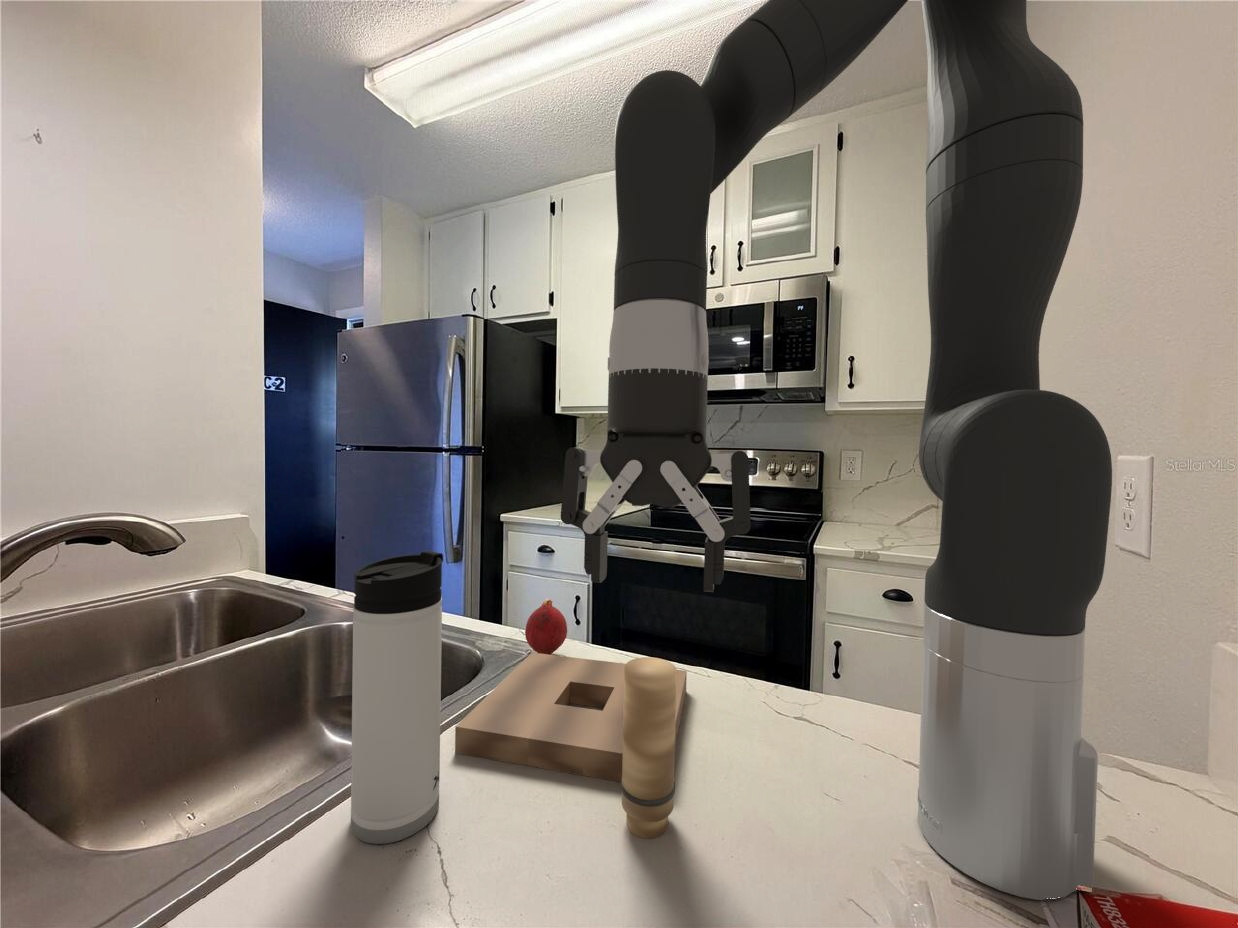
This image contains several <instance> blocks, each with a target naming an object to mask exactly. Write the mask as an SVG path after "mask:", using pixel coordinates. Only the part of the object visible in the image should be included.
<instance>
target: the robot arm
mask: <svg viewBox="0 0 1238 928" xmlns="http://www.w3.org/2000/svg"><path fill="white" fill-rule="evenodd" d="M908 1H909V0H768V1H766V2H765V3H764V4H763V5H762V6H760V7H759V8H758V9H756V11H754V12H753V13H752V14H751V15H749V16H748V17H747V18H746V19H744V20H743V21H742V22H741V23H740V24H739V25H738V26H737V27H735V28H734V29H732V30H731V32H729V33H728V35H727V36H725V37H724V39H722V41H721V42H720V43H719V45H718V46H717V48H716V49H715V50H714V52H713V53H712V56H711V58H710V60H709V63H708V66H707V68H706V72H705V73H704V77H703V79H702V81H701V83H700V84H699V83H698V82H697V81H696V80H694V79H693V78H692V77H691V76H689V75H687V74H685V73H683V72H680V71H676V70H672V69H671V70H669V69H664V70H658V71H655V72H652V73H650V74H648V75H646V76H644V77H643V78H641V79H640V80H639V81H638V82H636V84H635V85H634V86H632V88H631V89H629V91H628V92H627V94H626V96H625V97H624V99H623V101H622V103H621V105H620V108H619V110H618V113H617V117H616V123H615V129H614V164H615V165H614V169H615V176H614V177H615V193H616V194H615V195H616V197H615V198H616V216H617V217H616V219H617V243H616V244H617V245H616V256H615V263H614V280H613V284H614V288H613V315H612V317H613V318H612V324H611V329H610V337H609V347H608V348H609V349H608V350H609V351H608V356H607V371H608V383H607V384H608V387H607V388H608V389H607V392H608V393H607V421H606V422H607V430H606V442H605V446H604V447H603V449H602V450H590V449H586V448H584V447H576V446H575V447H569V448H568V449H567V450H566V452H565V457H564V458H565V459H564V470H563V471H564V472H563V483H562V494H561V506H560V507H561V508H560V520H561V522H562V523H563V524H565V525H571V526H574V527H576V528H578V529H580V530H581V531H582V532H583V535H584V550H583V551H584V557H583V558H584V560H583V568H584V572H585V574H586V575H590V581H591V583H600V584H601V583H603V582H604V580H606V579H607V578H606V577H607V574H608V572H607V571H608V544H609V543H608V542H609V541H608V535H609V532H608V531H605V528H606V527H605V526H606V525H607V524H608V522H609V521H610V520H611V519H612V517H613V516H614V515H615V514H616V512H617V511H618V510H619V509H620V508H621V507H622V506H623V505H624V504H625V502H627V503H628V504H631V507H632V506H634V507H636V506H637V507H645V506H649V505H655V506H657V507H662V508H671V509H673V508H675V507H677V506H679V505H681V504H683V506H685V508H686V509H687V511H688V512H689V513H690V515H691V516H692V517H693V518H694V520H695V521H696V522H697V523H698V525H699V526H700V527H701V529H702V530H703V532H704V533H705V534H706V535H707V537H705V541H704V555H703V556H704V564H703V565H704V566H703V592H707V593H714V590H715V585H721V584H722V582H723V580H724V573H725V544H726V541H728V539H730V538H733V537H735V536H736V537H737V536H738V535H746V534H748V533H749V532H750V531H751V526H752V524H751V523H752V522H751V494H750V467H749V465H750V464H749V462H750V461H749V455H748V454H747V453H746V452H745V451H742V450H736V451H734V452H733V453H732V452H731V453H727V452H726V453H711V452H710V450H709V448H708V445H707V422H708V421H707V417H708V413H707V412H708V385H709V384H708V381H709V379H708V377H709V376H708V374H709V364H710V363H709V362H710V361H709V348H710V347H709V332H708V325H707V291H708V284H707V283H708V259H707V258H708V255H707V254H708V253H707V229H708V228H707V227H708V221H709V220H708V219H709V213H710V212H709V211H710V203H711V202H710V201H711V194H713V192H714V191H715V190H717V189H718V187H719V186H720V185H721V184H722V183H723V182H724V181H725V180H726V179H727V178H728V177H729V175H731V173H732V172H733V171H735V169H736V168H737V167H738V166H739V165H740V164H741V162H743V161H744V160H745V158H746V157H747V156H748V155H749V154H750V152H751V151H752V150H753V149H754V148H755V146H757V144H758V143H759V142H760V141H761V140H762V139H763V138H764V137H765V136H766V135H768V133H770V132H771V131H772V130H773V129H775V128H777V127H778V126H779V125H781V124H782V123H783V122H784V121H786V120H788V119H789V118H790V117H791V116H792V115H793V114H795V113H796V112H797V111H798V110H801V108H802V107H803V106H804V105H806V104H807V103H808V102H810V101H811V100H812V99H813V98H815V97H816V96H817V95H818V94H819V93H821V92H822V91H823V90H824V89H826V88H827V87H828V85H830V84H831V83H832V82H833V81H835V79H837V78H838V77H839V76H840V75H841V74H842V73H843V72H844V71H846V69H847V68H848V67H849V66H850V65H851V64H852V63H853V62H854V61H855V60H856V59H857V58H858V57H859V56H860V55H861V54H862V53H863V52H864V51H865V50H866V49H867V48H868V46H869V45H870V44H871V43H872V42H873V41H874V40H875V39H876V37H878V35H879V34H881V32H882V31H883V30H884V29H885V27H886V26H887V25H888V24H889V23H890V22H891V21H892V19H893V18H894V17H895V16H896V15H897V14H898V12H899V11H900V10H901V9H902V8H903V7H904V6H905V5H906V3H907V2H908ZM920 2H921V10H922V16H923V25H924V26H923V27H924V33H925V34H924V35H925V44H926V54H927V55H926V57H927V78H926V80H927V87H926V110H927V111H926V113H927V114H926V115H927V116H926V117H927V119H926V120H927V125H926V126H927V140H926V141H927V144H926V145H927V147H926V163H925V164H926V165H925V166H926V167H925V226H926V227H925V229H926V256H927V257H926V264H927V266H926V268H927V270H926V271H927V294H928V296H927V297H928V311H929V324H930V355H929V366H928V367H929V368H928V375H927V376H928V377H927V384H926V391H925V392H926V395H925V402H924V408H923V417H922V424H921V430H920V439H919V447H918V462H919V466H920V467H919V468H920V471H921V474H922V477H923V480H924V481H925V483H926V485H927V487H928V488H929V490H930V491H931V492H932V493H933V494H934V495H935V496H936V498H938V499H939V500H940V501H941V503H942V504H941V505H942V506H941V519H940V523H941V524H940V534H939V535H940V536H939V546H938V547H939V548H938V551H937V554H936V558H935V560H934V562H933V563H932V564H931V565H930V566H929V567H928V568H927V570H926V572H925V576H924V596H923V597H924V604H923V633H922V640H923V641H922V663H921V664H922V665H921V666H922V667H921V670H922V671H921V695H920V696H921V699H920V700H921V701H920V702H921V703H920V726H919V727H920V729H919V730H920V732H919V733H920V736H919V761H918V763H919V764H918V767H919V768H918V769H919V770H918V787H917V824H918V827H919V829H920V832H921V834H922V835H923V837H924V839H925V840H926V841H927V843H928V844H929V845H930V846H931V847H932V848H933V850H934V851H935V852H936V853H937V854H939V855H940V856H941V857H942V858H944V859H945V860H946V861H947V862H948V863H949V864H950V865H952V866H954V867H955V868H956V869H958V870H960V871H961V872H962V873H964V874H966V875H967V876H969V877H971V878H973V879H975V880H976V881H978V882H980V883H982V884H985V885H986V886H988V887H992V888H994V889H996V890H998V891H1000V892H1004V893H1007V894H1009V895H1012V896H1013V895H1014V896H1016V897H1020V898H1024V899H1029V900H1030V899H1031V900H1036V901H1044V900H1043V899H1047V898H1048V899H1050V898H1051V899H1052V898H1058V897H1060V899H1064V898H1065V897H1067V896H1068V895H1071V894H1072V893H1074V892H1077V891H1076V888H1077V886H1078V885H1081V886H1086V887H1089V888H1093V889H1094V875H1095V874H1094V873H1095V872H1094V871H1095V848H1096V847H1095V845H1096V841H1095V840H1096V825H1097V823H1096V822H1097V821H1096V819H1097V817H1096V816H1097V798H1098V797H1097V795H1098V794H1097V793H1098V792H1097V791H1098V771H1099V770H1098V768H1099V755H1098V752H1097V750H1096V748H1095V747H1094V746H1093V745H1092V744H1091V743H1090V742H1088V741H1087V740H1086V739H1085V738H1083V736H1082V728H1083V726H1082V725H1083V721H1082V720H1083V702H1084V701H1083V698H1084V668H1085V667H1084V664H1085V640H1086V639H1085V637H1086V636H1085V635H1086V630H1085V629H1086V617H1087V609H1088V606H1089V605H1090V604H1091V601H1092V600H1093V599H1094V597H1095V596H1096V594H1097V592H1098V590H1099V588H1100V587H1101V586H1100V585H1101V584H1102V581H1103V577H1104V571H1105V565H1106V555H1107V545H1108V533H1109V524H1110V515H1111V514H1110V511H1111V505H1112V503H1111V502H1112V489H1113V465H1112V464H1113V462H1112V454H1111V448H1110V444H1109V441H1108V438H1107V435H1106V432H1105V430H1104V429H1103V427H1102V424H1101V423H1100V422H1099V420H1098V418H1096V416H1095V415H1094V414H1093V413H1092V411H1090V410H1089V409H1088V408H1087V407H1085V406H1084V405H1083V404H1081V403H1080V402H1079V401H1076V400H1075V399H1073V398H1071V397H1068V396H1066V395H1064V394H1063V393H1062V394H1061V393H1058V392H1054V391H1050V390H1043V389H1041V383H1040V381H1041V380H1040V340H1041V333H1042V327H1043V322H1044V319H1045V314H1046V313H1047V312H1046V311H1047V308H1048V304H1049V302H1050V300H1051V296H1052V293H1053V291H1054V288H1055V285H1056V282H1057V280H1058V276H1059V274H1060V271H1061V268H1062V266H1063V264H1064V260H1065V258H1066V254H1067V250H1068V249H1069V245H1070V242H1071V238H1072V235H1073V231H1074V228H1075V225H1076V221H1077V217H1078V214H1079V210H1080V205H1081V200H1082V192H1083V183H1084V182H1083V179H1084V114H1083V113H1084V111H1083V104H1082V98H1081V95H1080V93H1079V90H1078V88H1077V86H1076V85H1075V83H1074V82H1073V80H1072V79H1071V77H1070V76H1069V74H1068V73H1066V71H1065V70H1063V68H1062V67H1061V66H1060V65H1059V64H1058V63H1057V62H1056V61H1054V60H1053V59H1052V58H1051V57H1050V56H1048V55H1047V54H1046V53H1045V52H1043V51H1042V50H1041V49H1040V48H1038V47H1037V46H1036V45H1035V44H1034V42H1033V41H1032V39H1031V38H1030V34H1029V32H1028V26H1027V25H1028V24H1027V0H920ZM599 464H600V465H601V467H602V469H603V470H604V472H605V473H606V475H607V476H608V478H609V480H611V484H610V485H609V487H608V488H607V490H606V491H605V492H604V494H603V495H602V496H601V497H600V498H599V500H598V501H597V503H596V505H595V507H594V508H593V509H592V510H591V511H589V510H586V500H587V488H588V477H590V476H592V475H593V474H594V473H596V472H595V471H596V469H597V466H599ZM712 467H714V468H717V470H718V471H719V474H720V477H721V479H722V480H723V481H724V482H725V481H726V482H731V493H732V494H731V496H732V497H731V499H732V502H731V503H732V516H730V517H726V518H724V519H721V518H719V516H718V515H717V513H716V511H715V510H714V509H713V507H712V506H711V504H710V503H709V500H707V498H706V497H705V496H704V494H703V492H701V490H700V489H699V487H698V485H699V484H700V483H701V481H703V479H704V477H706V475H707V474H708V473H709V471H710V470H711V468H712ZM1061 897H1063V898H1061Z"/></svg>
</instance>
